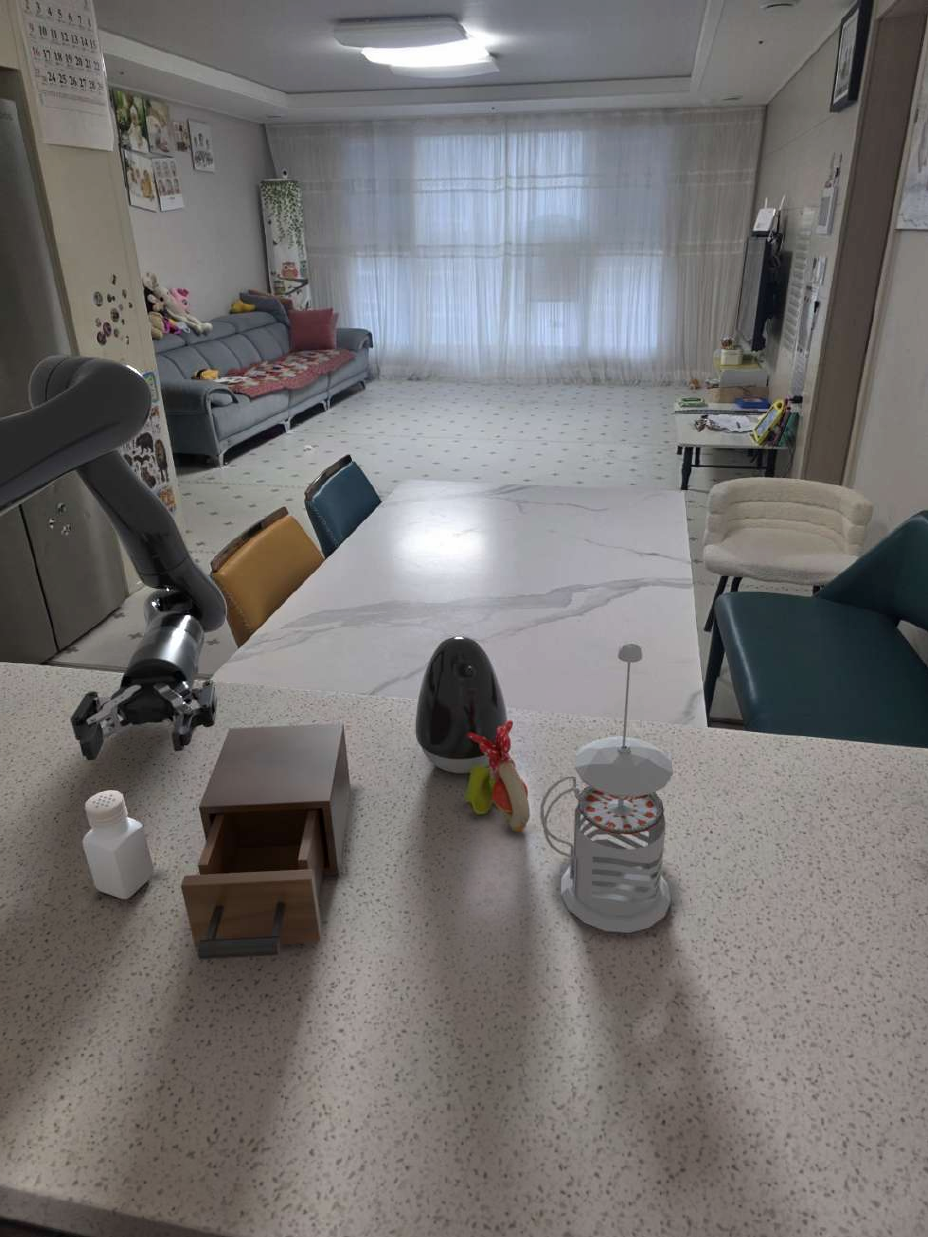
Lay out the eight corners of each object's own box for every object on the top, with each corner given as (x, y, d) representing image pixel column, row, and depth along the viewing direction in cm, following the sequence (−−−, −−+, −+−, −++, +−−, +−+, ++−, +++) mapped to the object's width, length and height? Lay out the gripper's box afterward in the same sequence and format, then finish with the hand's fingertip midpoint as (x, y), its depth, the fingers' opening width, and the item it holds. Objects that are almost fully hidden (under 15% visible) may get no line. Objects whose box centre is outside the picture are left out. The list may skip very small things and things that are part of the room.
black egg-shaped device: (427, 795, 87) (419, 669, 80) (410, 741, 96) (402, 624, 89) (520, 779, 89) (520, 655, 82) (494, 727, 98) (492, 612, 91)
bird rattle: (544, 835, 84) (504, 763, 89) (570, 777, 76) (525, 702, 81) (490, 855, 82) (452, 780, 87) (511, 798, 73) (468, 719, 79)
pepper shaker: (125, 863, 79) (103, 783, 75) (158, 874, 78) (137, 792, 73) (93, 892, 76) (69, 809, 72) (127, 904, 74) (104, 820, 70)
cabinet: (339, 875, 77) (329, 801, 73) (214, 881, 76) (198, 807, 73) (350, 790, 88) (343, 723, 84) (242, 795, 88) (229, 728, 84)
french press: (685, 928, 70) (715, 671, 59) (549, 939, 69) (554, 681, 58) (653, 849, 79) (674, 612, 68) (532, 857, 78) (534, 620, 67)
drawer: (313, 991, 64) (302, 927, 61) (178, 998, 64) (162, 934, 61) (334, 847, 79) (327, 789, 76) (225, 852, 79) (214, 795, 76)
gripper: (92, 647, 94) (49, 724, 80) (219, 635, 96) (199, 709, 81) (107, 703, 98) (68, 787, 83) (229, 690, 99) (212, 771, 85)
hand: (133, 748), depth 82 cm, fingers open, 8 cm apart
